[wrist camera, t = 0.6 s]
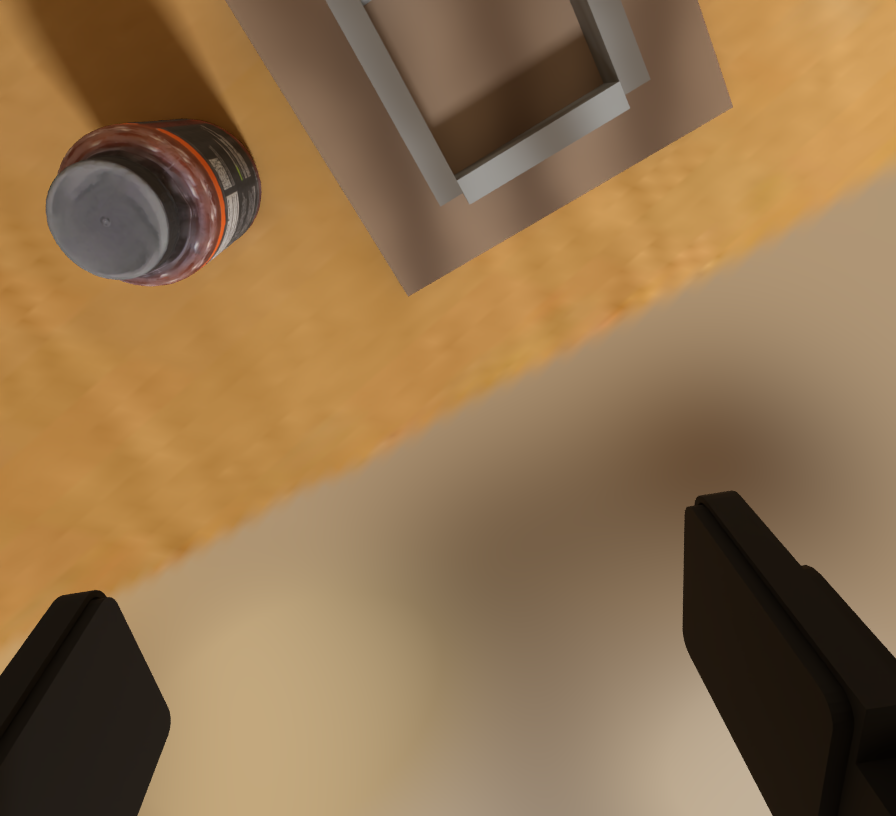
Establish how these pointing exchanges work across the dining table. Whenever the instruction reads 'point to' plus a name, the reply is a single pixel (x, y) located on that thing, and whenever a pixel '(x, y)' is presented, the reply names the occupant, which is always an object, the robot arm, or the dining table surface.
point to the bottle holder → (482, 106)
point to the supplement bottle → (152, 199)
